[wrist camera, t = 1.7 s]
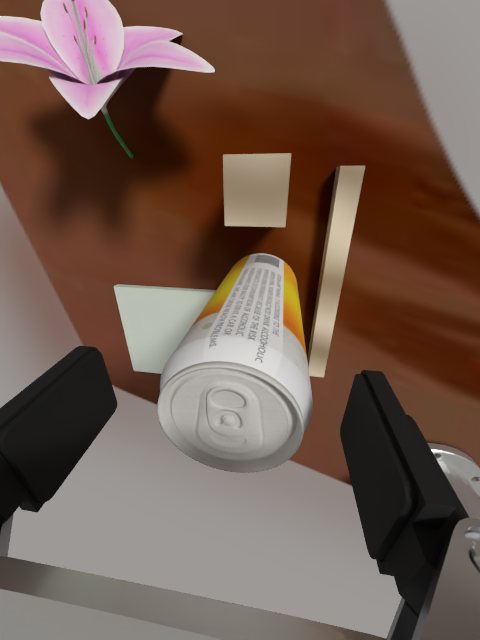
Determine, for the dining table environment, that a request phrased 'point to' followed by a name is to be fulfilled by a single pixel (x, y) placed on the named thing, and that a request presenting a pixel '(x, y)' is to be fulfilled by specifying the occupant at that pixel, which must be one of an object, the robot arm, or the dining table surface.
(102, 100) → the lily
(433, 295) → the dining table surface
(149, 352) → the mat
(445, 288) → the dining table surface
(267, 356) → the beer can
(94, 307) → the dining table surface
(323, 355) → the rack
